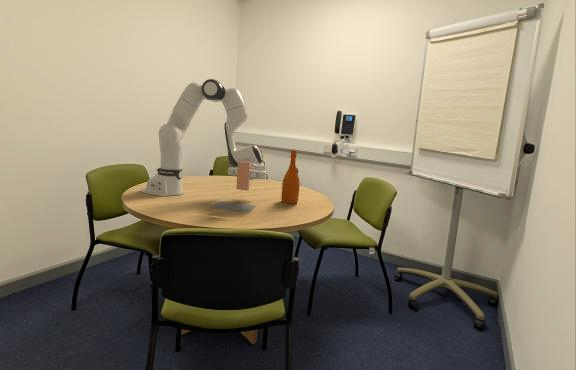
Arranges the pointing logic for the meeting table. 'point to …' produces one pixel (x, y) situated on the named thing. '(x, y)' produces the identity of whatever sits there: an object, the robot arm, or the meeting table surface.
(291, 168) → the wine bottle
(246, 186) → the tile
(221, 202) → the mat
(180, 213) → the meeting table surface
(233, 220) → the meeting table surface
